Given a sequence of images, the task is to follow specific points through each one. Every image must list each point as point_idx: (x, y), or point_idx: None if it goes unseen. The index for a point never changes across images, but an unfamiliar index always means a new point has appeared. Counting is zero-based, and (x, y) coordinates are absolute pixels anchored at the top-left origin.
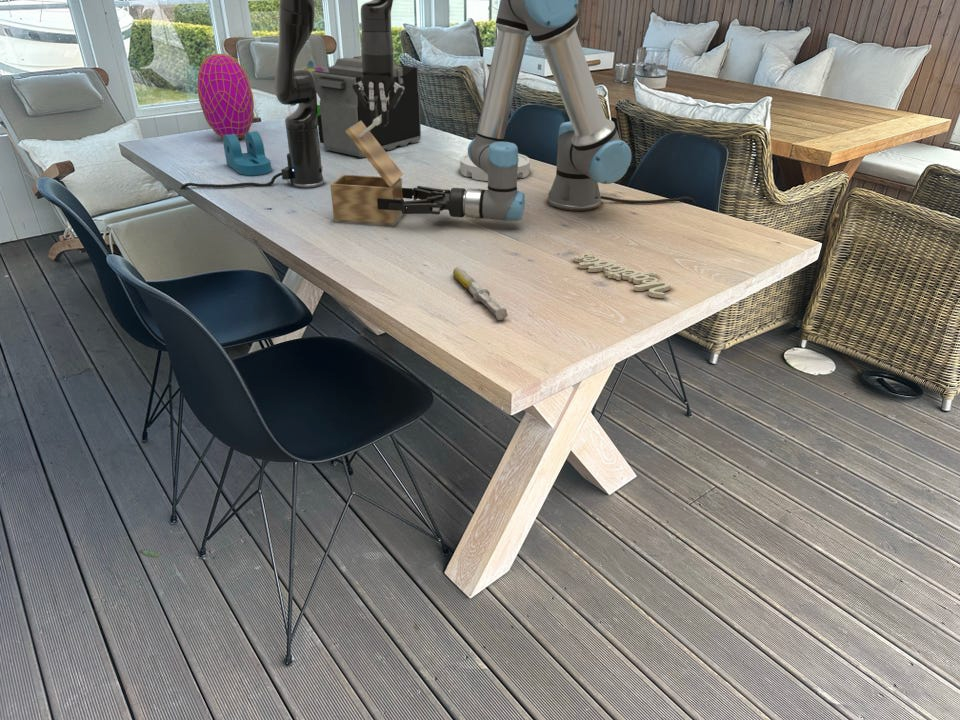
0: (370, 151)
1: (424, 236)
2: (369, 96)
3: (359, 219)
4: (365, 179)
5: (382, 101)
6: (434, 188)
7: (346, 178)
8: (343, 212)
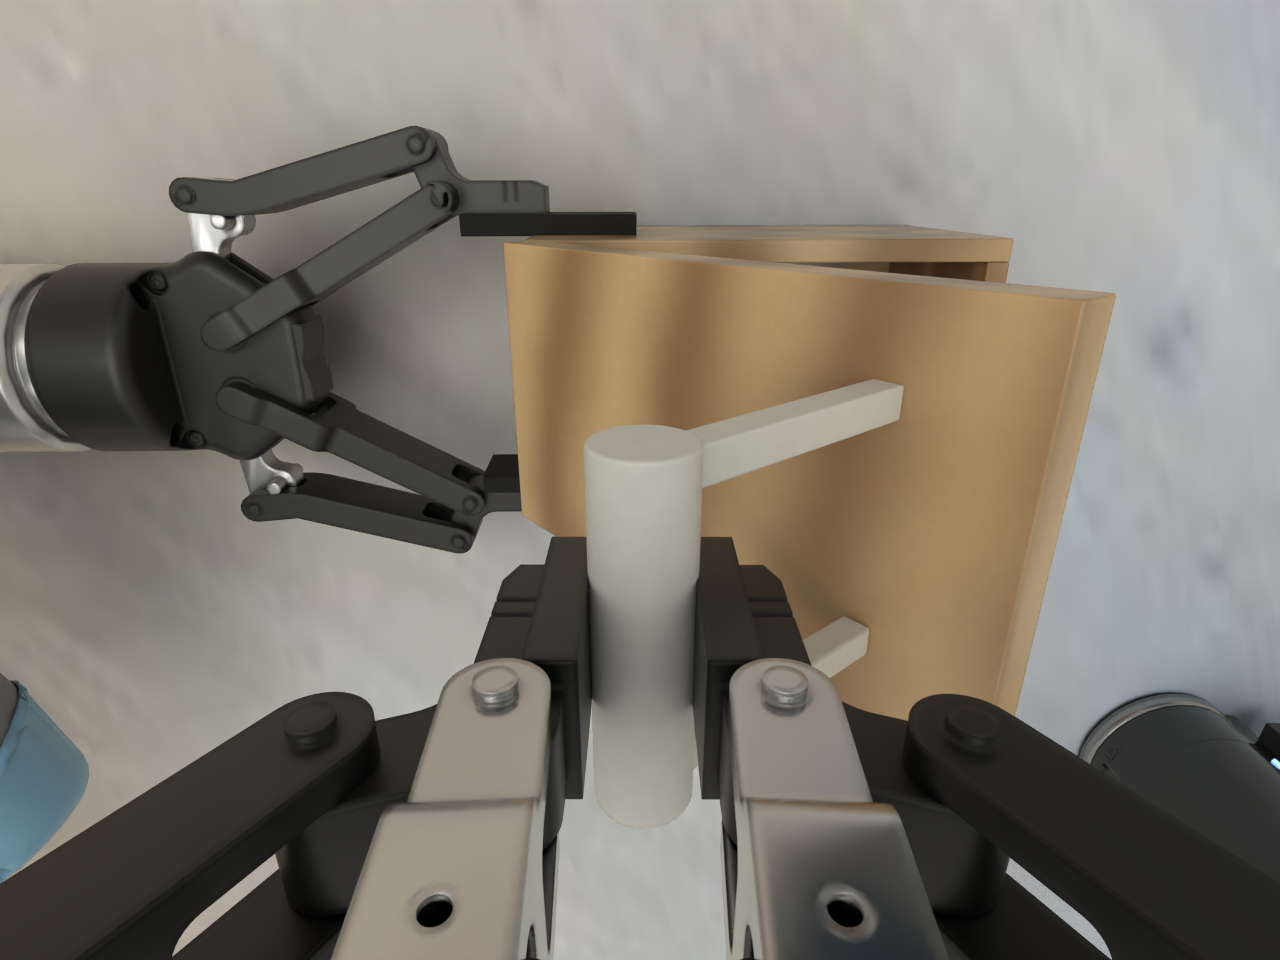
0: (719, 336)
1: (319, 92)
2: (909, 887)
3: (755, 226)
4: None
5: (486, 796)
6: (353, 527)
7: None
8: (861, 228)
